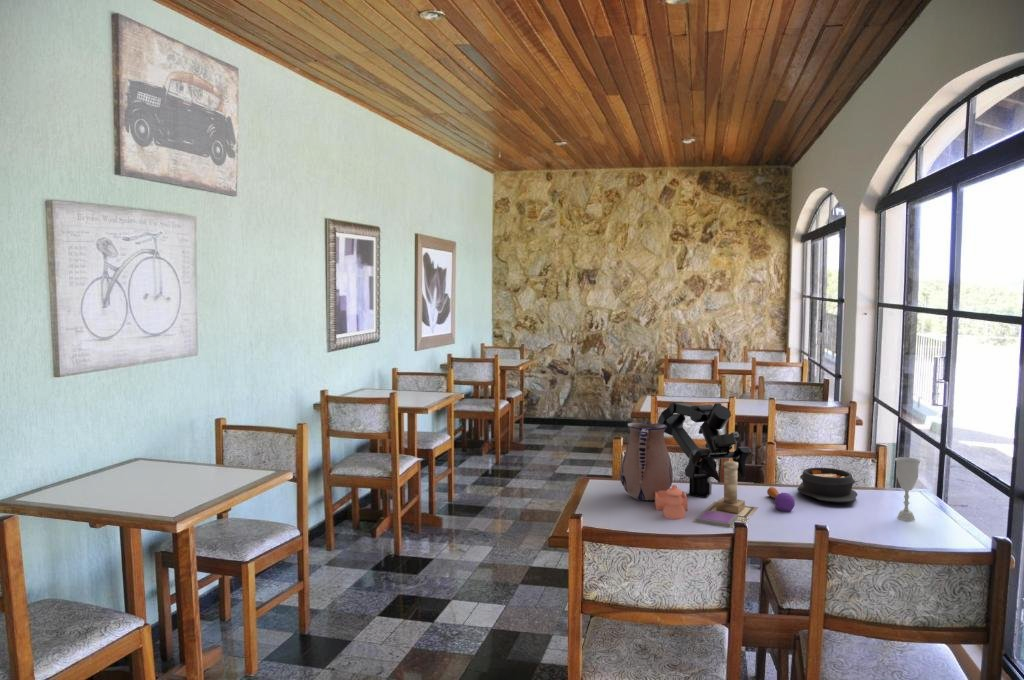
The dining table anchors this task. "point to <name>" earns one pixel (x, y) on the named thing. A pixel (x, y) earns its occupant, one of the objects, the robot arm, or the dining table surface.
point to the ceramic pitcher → (646, 461)
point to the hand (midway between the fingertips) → (731, 478)
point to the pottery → (671, 502)
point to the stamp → (730, 490)
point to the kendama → (782, 499)
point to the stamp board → (745, 512)
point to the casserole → (828, 485)
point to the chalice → (907, 482)
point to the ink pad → (717, 518)
